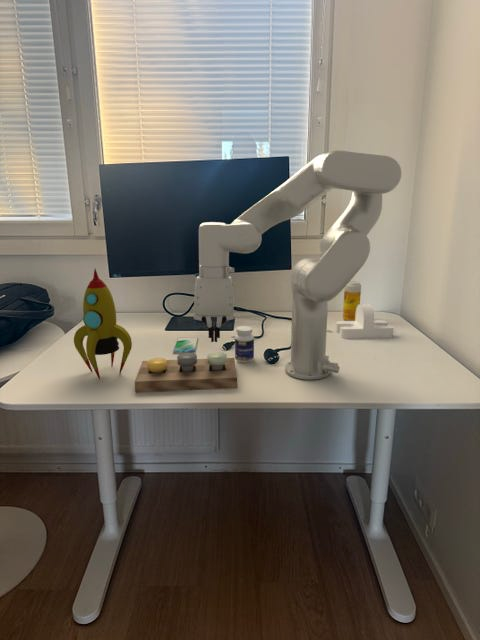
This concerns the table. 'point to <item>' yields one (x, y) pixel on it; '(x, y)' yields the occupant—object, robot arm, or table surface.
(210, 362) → the button sage
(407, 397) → the table surface
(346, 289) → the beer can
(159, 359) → the button amber
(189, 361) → the grey rounded lump
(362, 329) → the u-slot stand
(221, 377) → the console
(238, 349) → the pill bottle
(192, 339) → the smartphone
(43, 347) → the table surface
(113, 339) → the toy rocket
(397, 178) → the robot arm
